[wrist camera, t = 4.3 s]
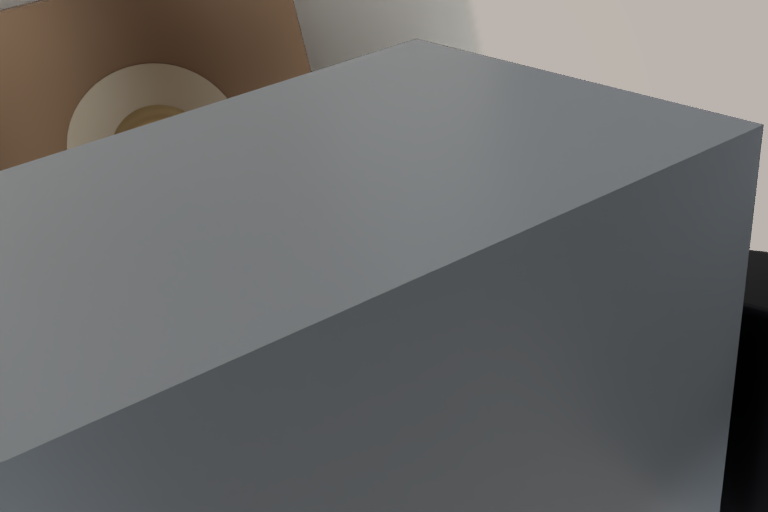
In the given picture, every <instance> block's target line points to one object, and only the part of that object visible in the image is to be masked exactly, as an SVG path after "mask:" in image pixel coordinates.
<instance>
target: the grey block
mask: <svg viewBox="0 0 768 512" xmlns="http://www.w3.org/2000/svg"><path fill="white" fill-rule="evenodd" d="M762 134H763V125H762V124H759V123H755V122H751V121H747V120H743V119H739V118H735V117H731V116H727V115H722V114H719V113H714V112H710V111H706V110H702V109H698V108H694V107H690V106H686V105H682V104H678V103H674V102H670V101H666V100H662V99H658V98H654V97H650V96H646V95H641V94H638V93H634V92H630V91H625V90H622V89H617V88H613V87H609V86H605V85H601V84H597V83H593V82H589V81H585V80H581V79H577V78H573V77H569V76H565V75H561V74H557V73H553V72H549V71H545V70H541V69H536V68H533V67H529V66H525V65H520V64H516V63H512V62H508V61H504V60H500V59H496V58H492V57H488V56H484V55H480V54H476V53H472V52H468V51H464V50H460V49H456V48H452V47H448V46H444V45H440V44H436V43H432V42H427V41H423V40H419V39H414V40H410V41H407V42H404V43H401V44H398V45H395V46H392V47H388V48H385V49H382V50H379V51H376V52H373V53H370V54H366V55H363V56H360V57H357V58H354V59H351V60H348V61H344V62H341V63H338V64H335V65H332V66H329V67H326V68H322V69H319V70H316V71H313V72H310V73H307V74H304V75H300V76H297V77H294V78H291V79H288V80H285V81H282V82H278V83H275V84H272V85H269V86H266V87H263V88H260V89H256V90H253V91H250V92H247V93H244V94H241V95H238V96H234V97H231V98H228V99H225V100H222V101H219V102H216V103H212V104H209V105H206V106H203V107H200V108H197V109H194V110H190V111H187V112H184V113H181V114H178V115H175V116H172V117H168V118H165V119H162V120H159V121H156V122H153V123H150V124H146V125H143V126H140V127H137V128H134V129H131V130H128V131H124V132H121V133H118V134H115V135H112V136H109V137H106V138H102V139H99V140H96V141H93V142H90V143H87V144H83V145H80V146H77V147H74V148H71V149H68V150H65V151H61V152H58V153H55V154H52V155H49V156H46V157H43V158H39V159H36V160H33V161H30V162H27V163H24V164H21V165H17V166H14V167H11V168H8V169H5V170H2V171H0V512H720V503H721V495H722V486H723V477H724V468H725V459H726V451H727V442H728V433H729V424H730V416H731V407H732V398H733V389H734V380H735V372H736V363H737V354H738V345H739V336H740V328H741V319H742V310H743V301H744V292H745V284H746V275H747V266H748V257H749V248H750V240H751V231H752V222H753V213H754V204H755V196H756V187H757V178H758V169H759V160H760V150H761V143H762Z"/></svg>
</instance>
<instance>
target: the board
mask: <svg viewBox="0 0 768 512" xmlns="http://www.w3.org/2000/svg"><path fill="white" fill-rule="evenodd" d="M310 72H311V70H310V66H309V62H308V58H307V54H306V50H305V46H304V42H303V38H302V34H301V30H300V26H299V22H298V18H297V14H296V10H295V6H294V2H293V0H40V1H36V2H32V3H28V4H24V5H20V6H16V7H12V8H8V9H4V10H0V171H2V170H5V169H8V168H11V167H14V166H17V165H21V164H24V163H27V162H30V161H33V160H36V159H39V158H43V157H46V156H49V155H52V154H55V153H58V152H61V151H65V150H68V149H71V148H74V147H77V146H80V145H83V144H87V143H90V142H93V141H96V140H99V139H102V138H106V137H109V136H112V135H115V134H118V133H121V132H124V131H128V130H131V129H134V128H137V127H140V126H143V125H146V124H150V123H153V122H156V121H159V120H162V119H165V118H168V117H172V116H175V115H178V114H181V113H184V112H187V111H190V110H194V109H197V108H200V107H203V106H206V105H209V104H212V103H216V102H219V101H222V100H225V99H228V98H231V97H234V96H238V95H241V94H244V93H247V92H250V91H253V90H256V89H260V88H263V87H266V86H269V85H272V84H275V83H278V82H282V81H285V80H288V79H291V78H294V77H297V76H300V75H304V74H307V73H310Z"/></svg>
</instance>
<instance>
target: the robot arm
mask: <svg viewBox="0 0 768 512" xmlns="http://www.w3.org/2000/svg"><path fill="white" fill-rule="evenodd" d="M720 512H768V252H763V251H753V250H749V257H748V266H747V275H746V284H745V292H744V301H743V310H742V319H741V328H740V336H739V345H738V354H737V363H736V372H735V380H734V389H733V398H732V407H731V416H730V424H729V433H728V442H727V451H726V459H725V468H724V477H723V486H722V495H721V503H720Z"/></svg>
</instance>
